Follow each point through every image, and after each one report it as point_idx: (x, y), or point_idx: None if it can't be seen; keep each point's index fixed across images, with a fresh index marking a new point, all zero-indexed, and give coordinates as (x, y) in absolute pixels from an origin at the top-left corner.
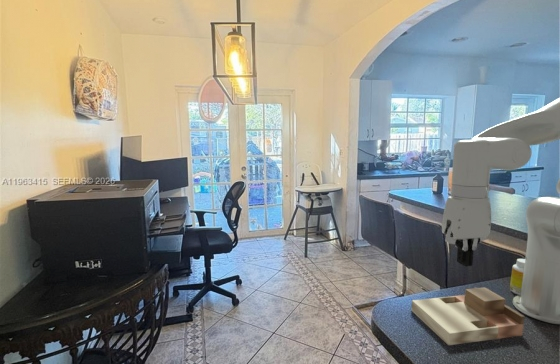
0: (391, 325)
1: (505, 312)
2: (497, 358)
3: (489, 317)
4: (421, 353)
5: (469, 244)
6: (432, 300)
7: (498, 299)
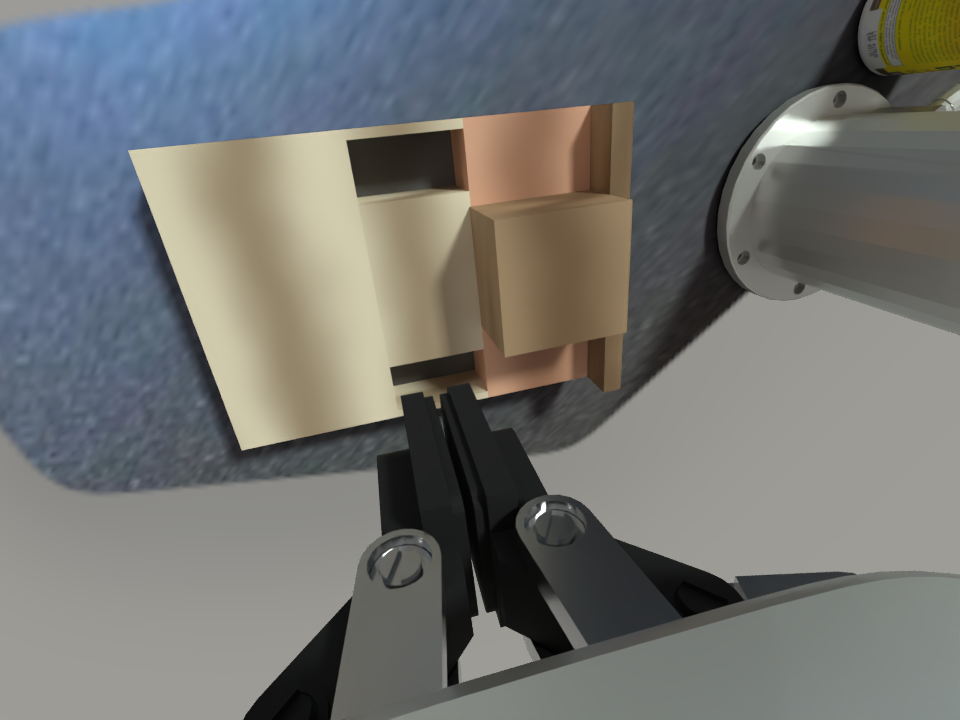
0: None
1: None
2: None
3: None
4: (107, 467)
5: (546, 627)
6: (285, 164)
7: (590, 336)
